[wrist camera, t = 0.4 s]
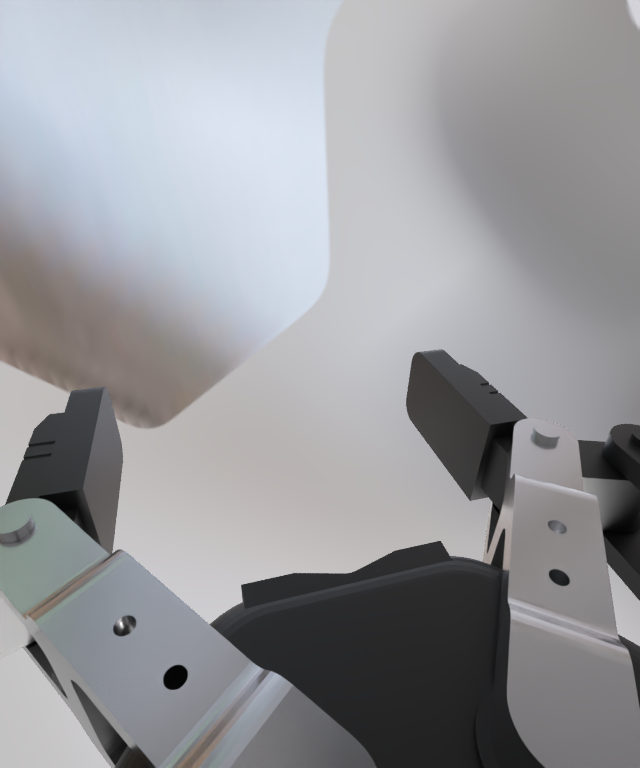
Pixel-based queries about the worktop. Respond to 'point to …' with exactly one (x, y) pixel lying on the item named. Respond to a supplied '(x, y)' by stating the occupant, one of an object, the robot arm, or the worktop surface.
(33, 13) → the worktop surface
